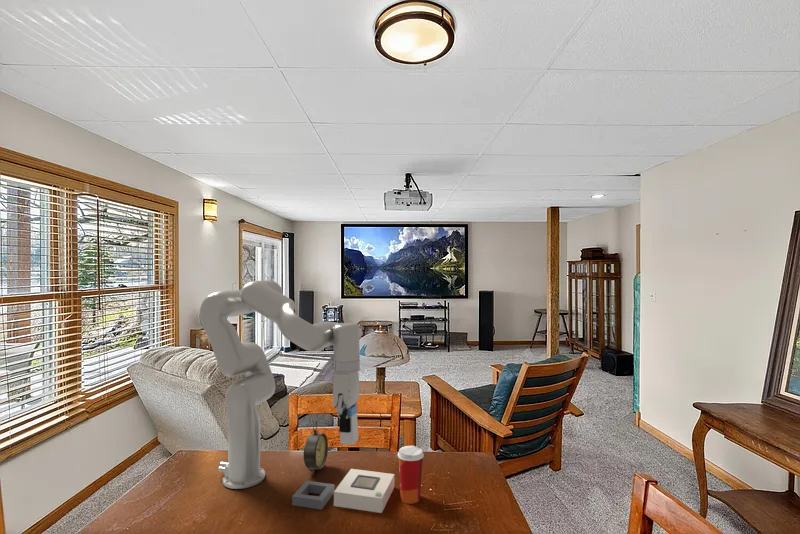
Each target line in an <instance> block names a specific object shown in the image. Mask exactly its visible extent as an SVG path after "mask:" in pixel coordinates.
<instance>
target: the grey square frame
mask: <svg viewBox="0 0 800 534" xmlns="http://www.w3.org/2000/svg"><path fill="white" fill-rule="evenodd" d="M334 491H335V484H333V483H328V482H327V483H326V482H320V481H319V482H318V481H311V480H305V481H304V482H303V484H301V486H300V487H299V488H298V489H297V490H296V492H294V494H292V496H291V505H292V506H294V507H295V506H296V507H302V508H309V509H314V510H315V509H316V510H320V511H321V510H323V509H324V507H326V505H327V504H328V502H329V500H330V499H331V498H332V497H333V496H334ZM309 493H310V494H311V495H309ZM312 494H316V495H312ZM317 494H318V496H317Z"/></svg>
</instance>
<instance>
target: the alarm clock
mask: <svg viewBox="0 0 800 534" xmlns="http://www.w3.org/2000/svg"><path fill="white" fill-rule="evenodd" d="M315 424H316V426H315ZM315 427H316V428H315ZM317 428H318V421H317V420H315V421H314V423H313V427H312V429H313V432H312V433H310V434H309V435H308V437H307V438H306V440H305V442H304V447H303V461H304V465H305V467H306V468H307V469H309V470H312V474H311V477H313V478H314V477H315V472H316V470H321V469H323V468H324V466H325V464H326V461H327V457H328V454H329V453H328V451H329V444H328V437H327V435H326V433H324V432H317Z"/></svg>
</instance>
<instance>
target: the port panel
mask: <svg viewBox="0 0 800 534" xmlns="http://www.w3.org/2000/svg"><path fill="white" fill-rule="evenodd" d="M394 488H395V473H390V472H389V473H388V472H387V473H386V472H379V471H371V470H364V469H357V468H356V469H355V468H350V470H349V471H348V472H347V473H346V475H345V476H344V477H343V479H342V480H341V481H340V483H339V484H338V485H337V487H336V488H335V489H334V494H333V507H337V508H345V509H352V510H358V511H366V512H370V513H379V514H382V513H383V511H384V510H385V507H386V505H387V503H388V502H389V499H390V498H391V496H392V495H391V494H392V493H393V491H394Z"/></svg>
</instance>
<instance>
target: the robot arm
mask: <svg viewBox="0 0 800 534" xmlns="http://www.w3.org/2000/svg"><path fill="white" fill-rule="evenodd" d="M199 307H200V308H199V314H198V315H199V321H200V323H201V326H202V328H203V330H204V332H205V334H206V336H207V337H208V340H209V343H210V347H211V349H212V351H213V355H214V357H215V360H216V362H217V366H218V368H219V371H220V372H221V373H222V375H223V376H225V377H227V378H233V377H234V378H235V377H238V376H240V375H243V374H244V375H245V377H242V378H240V379H237V380H235V381H234V382H232V383H231V384H230V385H229V386H228V387H227V389H226V392H225V396H224V401H225V402H224V403H225V406H226V411H227V420H228V421H227V422H228V423H227V424H228V425H227V427H228V430H227V431H228V434H227V436H228V437H227V438H228V440H227V441H228V442H227V446H228V449H227V456H228V457H227V462H226V461H220V462H219V466H218V468H217V472H221V473H224V475H223V476H222V485H223V486H224V487H226V488H229V489H234V490H238V489H239V490H241V489H247V488H251V487H255V486H256V485H259V484H260V483H262V482H263V480H264V479H265V477H266V471H265V469H264V468H262V467H261V417H260V414H259V412H258V409H257V406H258V405H259V404H261V403H264V402H265V401H267V400H269V399H271V397H273V395H274V394H275V392H276V381H275V378H274V374H273V372H272V369H271V367H270V364H269V361H268V359H267V357H266V353H265V351H264V350H263V349H262V347H261V346H260V345H259V344H257V343H255V342H251V341H250V342H249V341H247V342H243V343H242V341H241V338H240V336H239V334H238V331H237V329H236V328H235V326H234V325H233V324H232V323H231V321H229V320H228V318H230V317H232V318H233V317H238V316H244V315H248V314H251V313H254V312H256V313H259V315H262V316H263V317H265V318H267V319H268V320H269V321H271V322H273V323H274V324H276V325H277V328H278V330H279V331H280V333H281V334H282V335H283V336H284V338H286V339H287V340H288V341H290V342H291V343H293V344H294V345H296V346H298V347H299V348H301V349H303V350H305V351H308V352H317V351H320V350H322V349H325V348H329V347H331V346H333V372H334V377H333V383H332V385H333V386H332V387H333V388H332V407H333V408H336V414H337V416H338V415H339V416H338V423H339V429H338V430H339V433H340V432H346V433H349V432H350V431H351V424H350V418H349V409H350V407H351V406H352V405H357V403H358V400H359V399H360V390H361V389H360V376H359V372H360V371H361V362H360V361H361V358H360V357H361V355H360V349H361V348H360V327H359V325H358V324H357V323H356V322H355V323H354V322H342V323H341V322H334V321H327V320H326V321H325V320H324V321H321V322H316V323H313V324H312V323H311V322H308V321H307V320H305V319H303V318H302V317H301V316H298V315H297V314H296V313H295V309H296V304H295V302H294V300H293V299H291V298H290V297H288V296H286V295H284V292H283V289H282V287H281V286H280V284H279V283H277V282H276V281H274V280H269V279H268V280H253V281H250V282H247V283H246V284H245V285H243V287H242V288H241V289H234V290H219V291H216V292H215V291H214V292H213V293H211V294H208V295H207V296H206V297H205V298H204V299H203V300H202V302H201V304H200V306H199ZM343 405H346V407H343ZM343 409H344V410H346V412H345V411H343Z"/></svg>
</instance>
